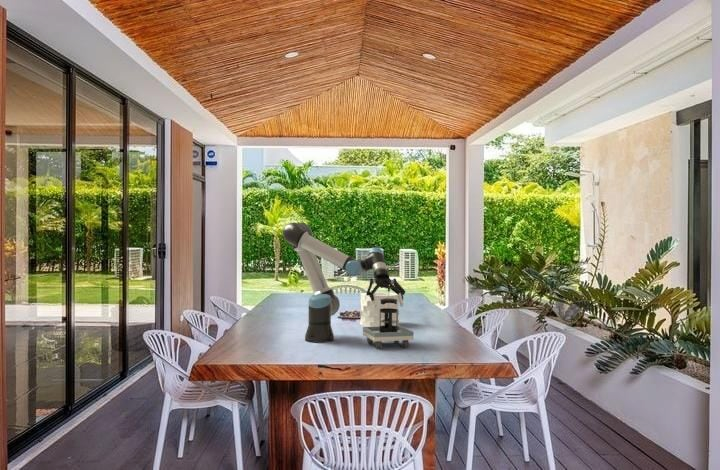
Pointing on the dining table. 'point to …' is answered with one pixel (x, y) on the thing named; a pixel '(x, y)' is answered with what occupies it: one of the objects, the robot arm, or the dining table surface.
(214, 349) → the dining table surface
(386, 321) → the french press
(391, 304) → the basket
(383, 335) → the grey tray with legs
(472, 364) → the dining table surface
